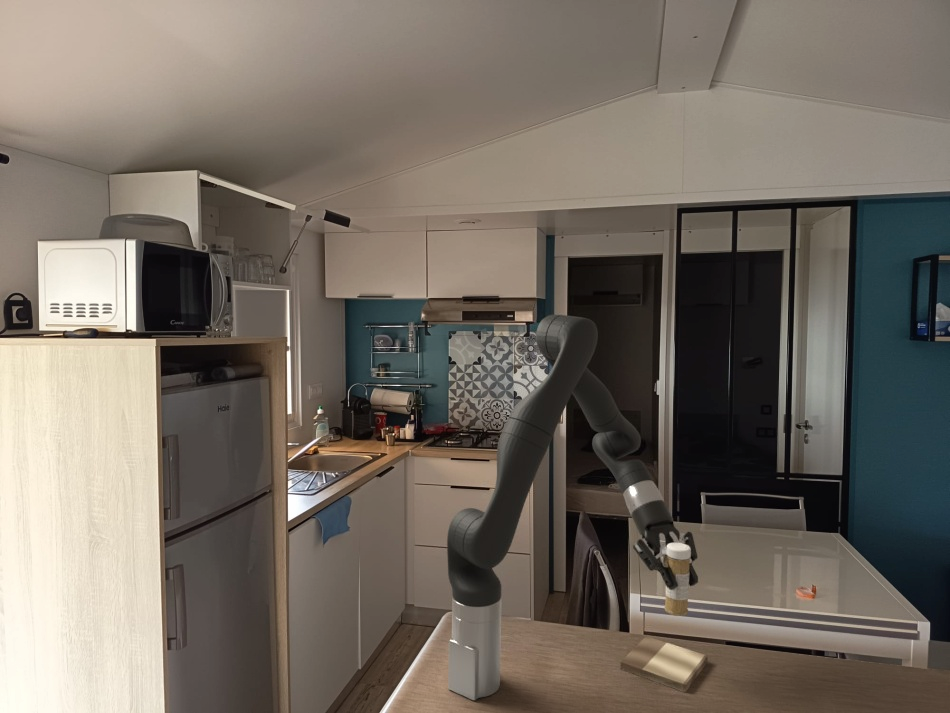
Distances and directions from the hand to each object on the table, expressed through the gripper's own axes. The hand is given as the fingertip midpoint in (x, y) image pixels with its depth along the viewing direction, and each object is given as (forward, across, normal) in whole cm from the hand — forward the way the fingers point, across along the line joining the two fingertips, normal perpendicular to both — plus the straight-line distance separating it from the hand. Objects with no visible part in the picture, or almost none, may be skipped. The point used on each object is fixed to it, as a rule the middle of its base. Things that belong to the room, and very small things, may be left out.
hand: (684, 585), depth 128 cm
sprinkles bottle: (+3, 0, +6) cm, 7 cm away
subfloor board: (+10, -2, +15) cm, 18 cm away
